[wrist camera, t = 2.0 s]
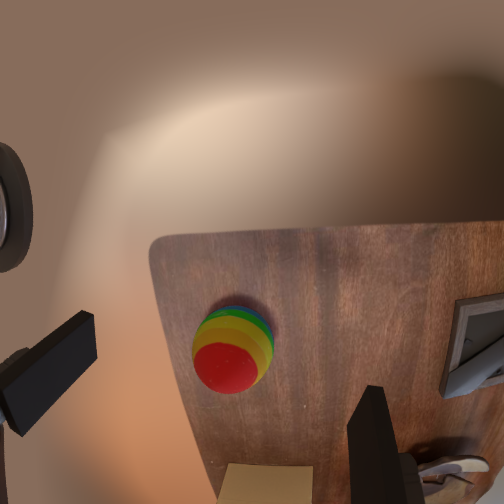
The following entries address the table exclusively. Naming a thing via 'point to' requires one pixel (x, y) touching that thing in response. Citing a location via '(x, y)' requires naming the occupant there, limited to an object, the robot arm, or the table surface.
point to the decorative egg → (232, 349)
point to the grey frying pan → (450, 478)
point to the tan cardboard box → (266, 484)
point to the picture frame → (475, 346)
